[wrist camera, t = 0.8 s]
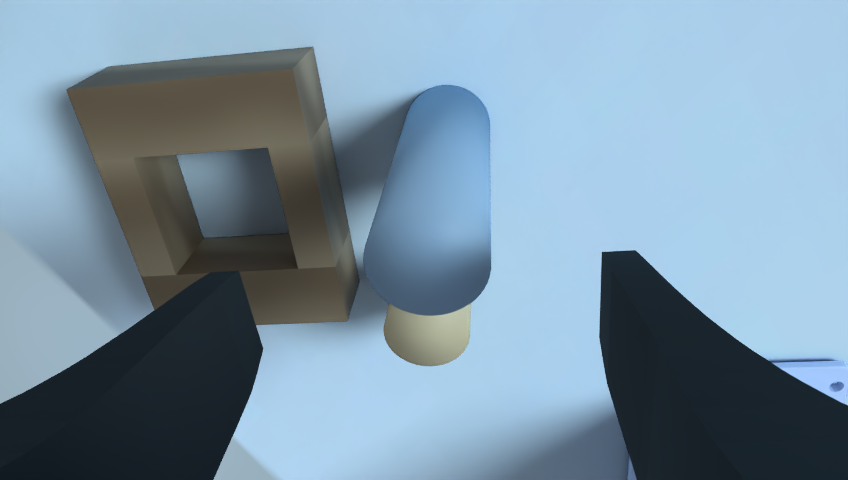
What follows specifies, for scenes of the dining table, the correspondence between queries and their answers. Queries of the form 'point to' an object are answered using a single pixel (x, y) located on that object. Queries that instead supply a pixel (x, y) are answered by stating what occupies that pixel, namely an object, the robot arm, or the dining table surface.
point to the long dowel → (435, 208)
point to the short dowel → (427, 335)
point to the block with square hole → (223, 131)
